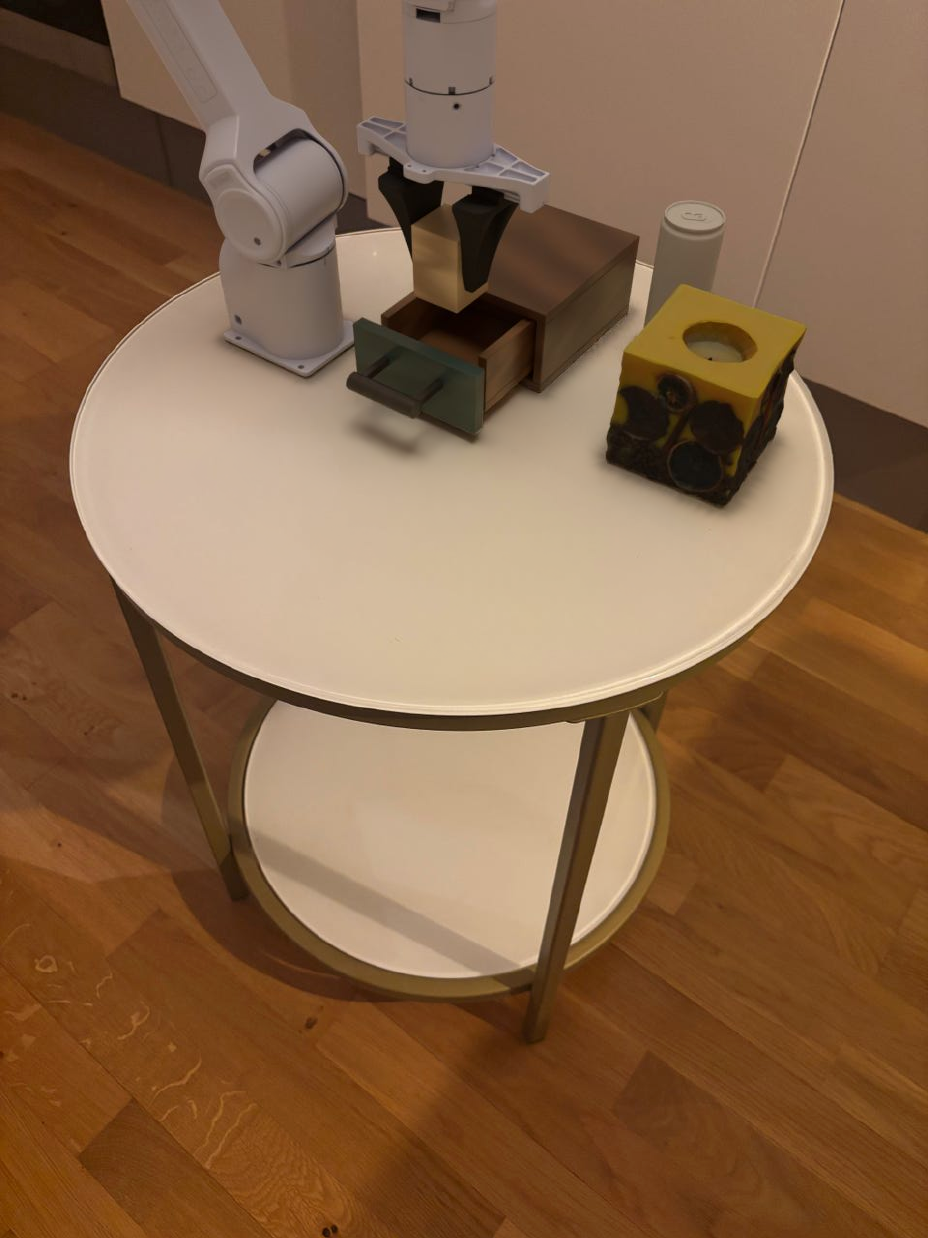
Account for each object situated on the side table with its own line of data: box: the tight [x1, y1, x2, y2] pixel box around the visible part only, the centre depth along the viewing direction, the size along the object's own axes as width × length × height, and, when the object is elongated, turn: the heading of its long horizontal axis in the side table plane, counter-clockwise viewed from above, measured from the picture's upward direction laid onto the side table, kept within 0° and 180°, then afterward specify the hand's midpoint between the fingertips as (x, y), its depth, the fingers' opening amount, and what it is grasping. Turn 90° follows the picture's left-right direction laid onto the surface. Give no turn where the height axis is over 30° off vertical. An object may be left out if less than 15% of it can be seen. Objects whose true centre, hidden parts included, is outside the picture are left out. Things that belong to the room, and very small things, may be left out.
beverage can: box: [642, 199, 726, 329], centre depth 78 cm, size 5×5×12 cm
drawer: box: [345, 290, 537, 436], centre depth 76 cm, size 18×11×5 cm, turn 145°
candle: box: [605, 284, 808, 508], centre depth 70 cm, size 10×10×10 cm
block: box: [411, 202, 488, 313], centre depth 70 cm, size 4×4×6 cm
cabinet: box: [478, 203, 641, 393], centre depth 82 cm, size 15×13×7 cm
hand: (450, 275), depth 71 cm, fingers closed on block, 4 cm apart
